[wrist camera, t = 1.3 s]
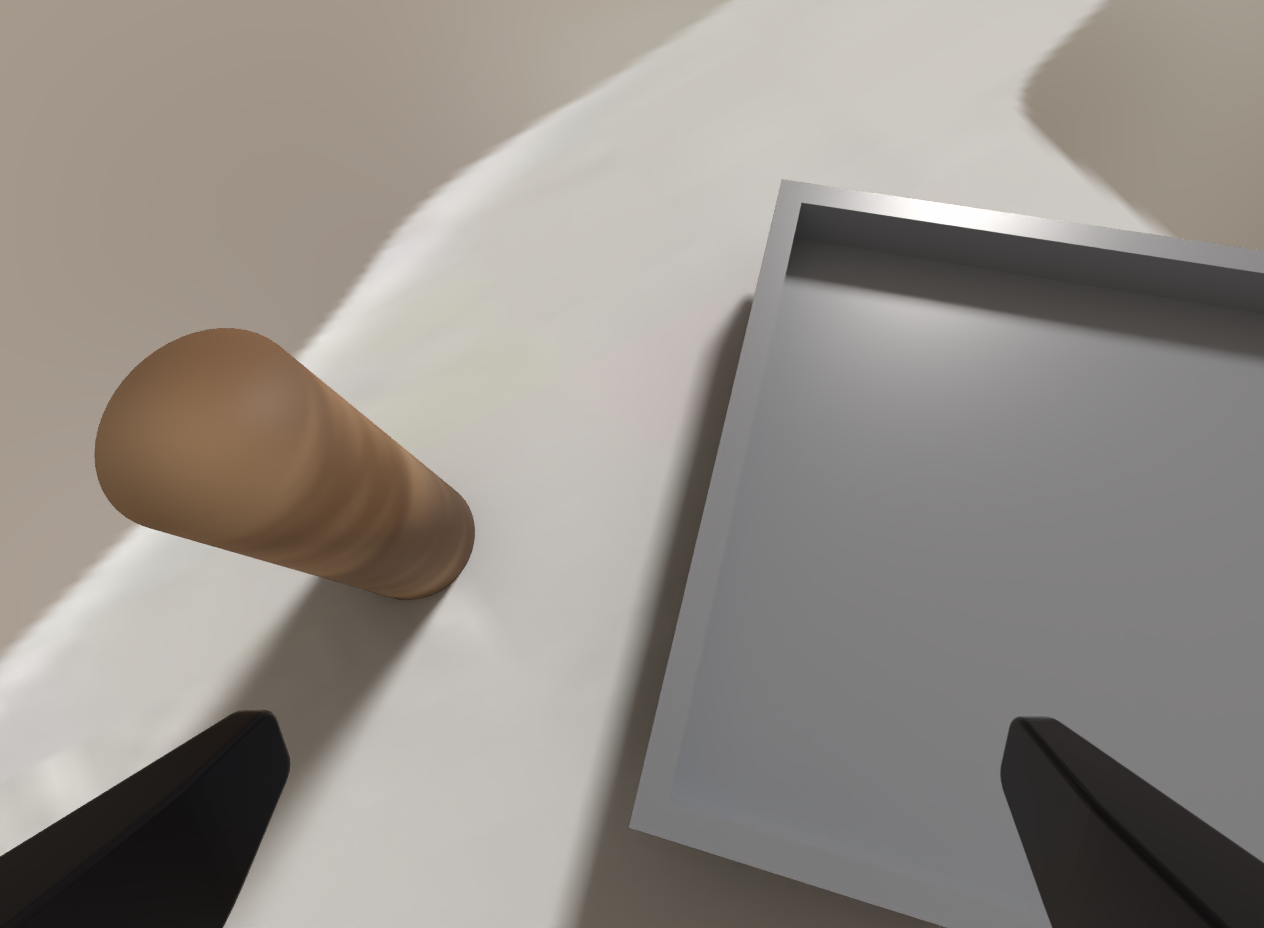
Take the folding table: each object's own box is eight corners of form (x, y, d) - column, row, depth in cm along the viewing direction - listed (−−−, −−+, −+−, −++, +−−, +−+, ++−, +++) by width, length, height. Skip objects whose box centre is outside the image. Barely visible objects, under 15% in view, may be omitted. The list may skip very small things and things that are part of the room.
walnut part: (450, 613, 23) (249, 555, 12) (337, 582, 23) (55, 501, 13) (491, 494, 24) (338, 350, 14) (381, 468, 25) (157, 311, 14)
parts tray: (1378, 1024, 17) (1597, 1133, 13) (641, 798, 20) (628, 827, 16) (1337, 355, 23) (1480, 282, 19) (767, 259, 26) (782, 179, 22)
